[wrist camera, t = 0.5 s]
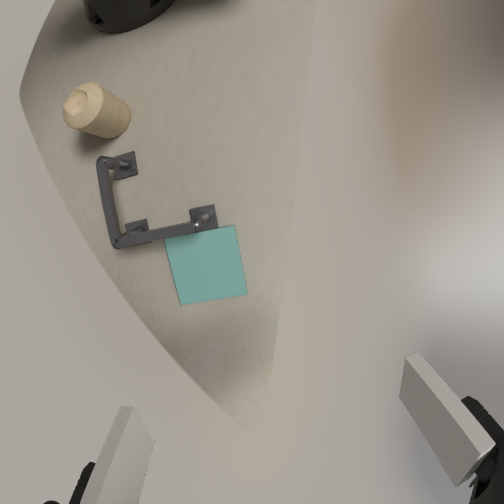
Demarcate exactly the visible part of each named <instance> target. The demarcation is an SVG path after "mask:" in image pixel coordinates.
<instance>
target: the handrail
mask: <svg viewBox="0 0 504 504" xmlns="http://www.w3.org/2000/svg"><path fill="white" fill-rule="evenodd" d="M96 169H97V176H98V182H99V188H100V193H101V199H102V204H103V209H104V214H105V219H106V223H107V228H108V232H109V237H110V241H111V245H112V246H113V247H114V248H115V249H120V248H122V247H125V246H134V245H139V244H144V243H148V242H151V241H153V240H158V239H163V238H168V237H173V236H177V235H182V234H187V233H192V232H193V233H198V232H203V231H208V230H213V229H218V228H219V227H218V222H217V217H216V212H215V207H214V204H213V205H208V206H203V207H198V208H193V209H190V213H191V218H192V220H191V221H190V222H187V223H182V224H177V225H172V226H168V227H163V228H158V229H154V230H149V227H148V222H147V219H143V220H139V221H135V222H131V223H127V224H125V227H126V231H127V232H125V233H123V234H121V231H120V227H119V222H118V218H117V213H116V208H115V203H114V198H113V192H112V187H111V181H110V175H109V169H110V170H115V175H116V180H118V179H122V178H125V177H128V176H132V175H135V174H138V170H137V164H136V158H135V152H134V151H132V152H129V153H126V154H123V155H119V156H116V157H113V158H112V157H106V156H100V157H99V158H98V159H97V161H96Z"/></svg>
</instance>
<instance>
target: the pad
mask: <svg viewBox="0 0 504 504" xmlns="http://www.w3.org/2000/svg"><path fill="white" fill-rule="evenodd" d="M164 241H165V245H166V249H167V254H168V258H169V262H170V266H171V270H172V273H173V277H174V281H175V285H176V289H177V292H178V296H179V299H180V303H181V305H184V304H191V303H197V302H204V301H210V300H216V299H222V298H228V297H234V296H240V295H246V294H247V287H246V282H245V277H244V272H243V267H242V262H241V257H240V251H239V246H238V241H237V236H236V231H235V225H231V226H226V227H220V228H218V229H213V230H208V231H203V232H198V233H189V234H184V235H179V236H174V237H170V238H165V239H164Z"/></svg>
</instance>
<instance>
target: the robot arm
mask: <svg viewBox="0 0 504 504" xmlns="http://www.w3.org/2000/svg"><path fill="white" fill-rule="evenodd" d="M173 2H174V0H83V4H84V8H85V12H86V16H87V18H88V20H89V22H90V23H91V24H92V25H93V26H94V27H95V28H96V29H98V30H99V31H102V32H105V33H119V32H124V31H128V30H131V29H134V28H137V27H139V26H142V25H144V24H146V23H148V22H149V21H151V20H153V19H154V18H156V17H157V16H159V15H160V14H161V13H163V12H164V11H165V10H166V9H167V8H168V7H169V6H170V5H171V4H172V3H173ZM399 398H400V399H401V401H402V402H403V404H404V405H405V407H406V408H407V410H408V412H409V413H410V414H411V416H412V418H413V419H414V421H415V422H416V424H417V426H418V427H419V429H420V430H421V432H422V433H423V435H424V436H425V438H426V440H427V441H428V443H429V445H430V446H431V448H432V449H433V451H434V453H435V454H436V456H437V458H438V459H439V461H440V462H441V464H442V466H443V467H444V469H445V471H446V472H447V474H448V476H449V477H450V479H451V481H452V483H453V484H454V486H455V487H457V486H459V485H460V484H462V483H463V482H465V481H466V480H468V479H469V478H470V477H471V476H472V474H474V472H475V473H476V475H477V476H476V478H475V479H474V480H473V481H472V482H471V483H470V486H469V487H472V485H473V484H474V488H473V491H472V495H471V499H470V503H469V504H504V430H503V429H502V428H501V427H500V426H499V424H498V423H497V422H496V421H495V420H494V419H493V418H492V416H491V415H489V414H488V412H487V411H486V410H485V409H484V407H483V406H482V405H481V404H480V403H479V402H478V401H477V400H475V399H474V398H472V397H470V396H467V397H465V398H464V399H462V400H459V398H458V397H457V396H456V395H455V394H454V393H453V391H452V390H451V389H450V388H449V387H448V386H447V384H446V383H445V382H444V381H443V380H442V379H441V378H440V377H439V375H438V374H437V373H436V372H435V371H434V370H433V369H432V368H431V367H430V365H429V364H428V363H427V362H426V361H425V360H424V359H423V358H422V357H421V356H420V355H419V353H417V354H414V355H412V356H409V357H406V358H405V364H404V370H403V376H402V383H401V388H400V394H399ZM154 442H155V439H154V438H153V436H152V435H151V433H150V432H149V431H148V429H147V427H146V426H145V424H144V423H143V421H142V420H141V418H140V416H139V415H138V413H137V412H136V410H135V408H134V407H120V410H119V412H118V414H117V416H116V418H115V421H114V423H113V425H112V427H111V429H110V432H109V434H108V436H107V438H106V441H105V443H104V445H103V448H102V450H101V453H100V455H99V457H98V459H97V462H96V463H93V462H90V463H89V464H88V465H87V466H86V467H85V468H84V469H83V471H82V473H81V476H80V479H79V480H78V483H77V484H78V485H77V486H76V488H75V490H74V492H73V495H72V498H71V500H70V502H69V504H138V503H139V499H140V495H141V491H142V487H143V484H144V480H145V476H146V472H147V468H148V464H149V461H150V457H151V453H152V449H153V446H154ZM44 504H59V503H58V502H56V501H47V502H45V503H44Z"/></svg>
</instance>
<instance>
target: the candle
mask: <svg viewBox="0 0 504 504" xmlns="http://www.w3.org/2000/svg"><path fill="white" fill-rule="evenodd" d="M63 117H64V121H65V123H66V124H67V125H68V126H69V127H70V128H73V129H76V130H80V131H83V132H87V133H90V134H93V135H97V136H100V137H104V138H115V137H117V136H119V135H121V134H122V133H123V132H124V131H125V130H126V128H127V127H128V125H129V123H130V119H131V112H130V109H129V107H128V105H127V104H126V103H125V102H123V101H122V100H121V99H119V98H117V97H116V96H114V95H113V94H111V93H110V92H108V91H107V90H105V89H104V88H102V87H101V86H99V85H97V84H96V83H92V82H88V83H84V84H81V85H80V86H78V87H77V88H75V89H74V90H73V91H72V92H71V94H70V95H69V96H68V98H67V100H66V102H65V105H64V110H63Z"/></svg>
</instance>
